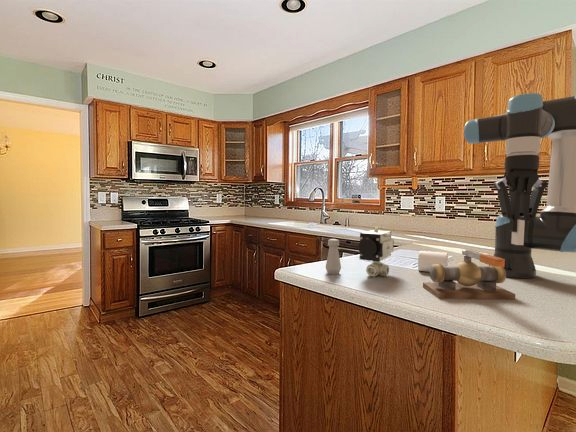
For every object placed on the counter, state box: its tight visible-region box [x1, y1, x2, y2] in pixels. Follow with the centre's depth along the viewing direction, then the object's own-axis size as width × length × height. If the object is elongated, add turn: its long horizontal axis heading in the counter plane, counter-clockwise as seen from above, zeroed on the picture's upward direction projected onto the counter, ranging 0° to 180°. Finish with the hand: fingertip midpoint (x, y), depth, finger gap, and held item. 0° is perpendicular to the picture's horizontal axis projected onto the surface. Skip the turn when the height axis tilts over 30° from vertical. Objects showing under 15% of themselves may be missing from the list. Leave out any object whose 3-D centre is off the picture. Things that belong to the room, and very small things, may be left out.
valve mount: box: [422, 255, 516, 300], centre depth 104 cm, size 22×12×11 cm, turn 89°
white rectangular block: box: [417, 250, 449, 273], centre depth 134 cm, size 12×10×8 cm
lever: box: [461, 249, 505, 267], centre depth 97 cm, size 18×3×2 cm, turn 179°
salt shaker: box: [325, 238, 342, 276], centre depth 129 cm, size 6×6×13 cm
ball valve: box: [357, 227, 394, 278], centre depth 127 cm, size 18×8×18 cm, turn 147°
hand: (517, 244), depth 91 cm, fingers closed
